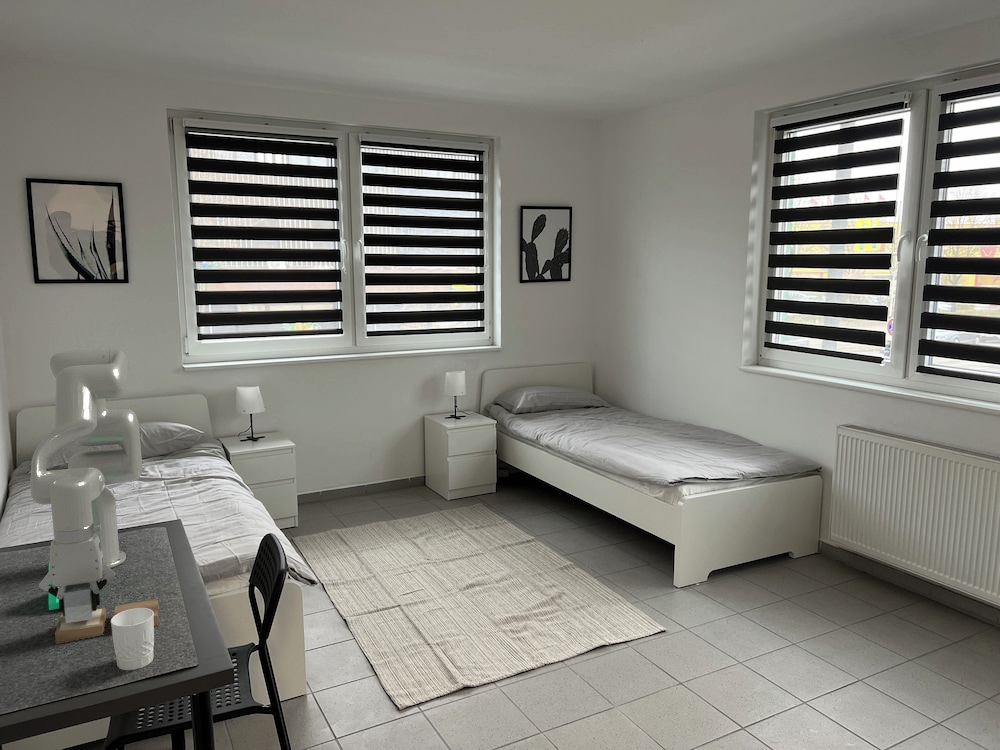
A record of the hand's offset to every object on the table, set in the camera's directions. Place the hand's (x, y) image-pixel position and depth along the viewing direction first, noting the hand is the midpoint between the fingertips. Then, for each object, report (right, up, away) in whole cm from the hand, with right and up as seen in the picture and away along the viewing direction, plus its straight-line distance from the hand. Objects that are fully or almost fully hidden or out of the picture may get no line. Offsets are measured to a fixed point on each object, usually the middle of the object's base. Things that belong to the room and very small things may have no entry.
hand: (80, 610), depth 162 cm
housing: (0, -1, 0) cm, 1 cm away
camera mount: (-11, -3, +15) cm, 19 cm away
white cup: (+18, -7, -12) cm, 23 cm away
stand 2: (+10, -4, +5) cm, 12 cm away
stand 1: (0, -5, +1) cm, 5 cm away
